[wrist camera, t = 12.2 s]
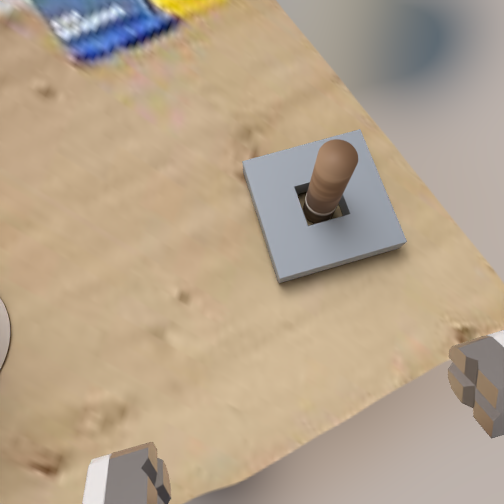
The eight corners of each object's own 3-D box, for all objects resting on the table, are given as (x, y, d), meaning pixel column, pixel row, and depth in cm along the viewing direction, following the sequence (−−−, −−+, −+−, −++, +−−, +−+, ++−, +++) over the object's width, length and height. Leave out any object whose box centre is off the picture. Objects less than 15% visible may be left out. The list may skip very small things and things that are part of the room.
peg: (308, 227, 46) (325, 180, 34) (298, 199, 47) (311, 145, 35) (338, 218, 46) (364, 169, 35) (327, 191, 47) (350, 134, 36)
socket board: (278, 283, 44) (279, 278, 42) (243, 171, 48) (242, 161, 46) (398, 248, 45) (406, 241, 43) (355, 141, 49) (360, 129, 46)
